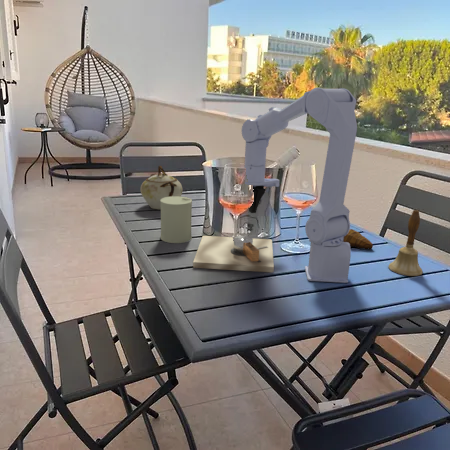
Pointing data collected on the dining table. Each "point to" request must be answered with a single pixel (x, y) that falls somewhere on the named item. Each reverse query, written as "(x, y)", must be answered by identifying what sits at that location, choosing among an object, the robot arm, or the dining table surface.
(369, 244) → the croissant
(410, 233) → the hand bell
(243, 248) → the wooden handled dome
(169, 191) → the sugar bowl
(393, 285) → the dining table surface
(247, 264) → the base plate
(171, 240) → the can
